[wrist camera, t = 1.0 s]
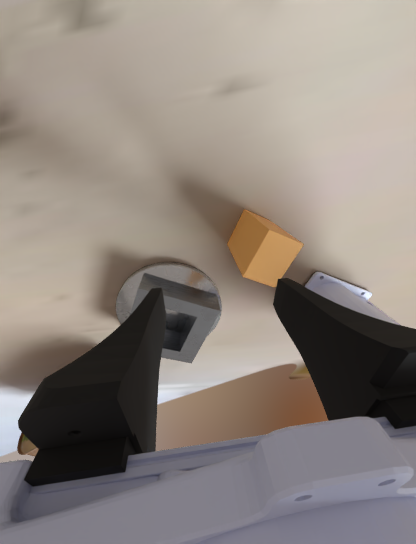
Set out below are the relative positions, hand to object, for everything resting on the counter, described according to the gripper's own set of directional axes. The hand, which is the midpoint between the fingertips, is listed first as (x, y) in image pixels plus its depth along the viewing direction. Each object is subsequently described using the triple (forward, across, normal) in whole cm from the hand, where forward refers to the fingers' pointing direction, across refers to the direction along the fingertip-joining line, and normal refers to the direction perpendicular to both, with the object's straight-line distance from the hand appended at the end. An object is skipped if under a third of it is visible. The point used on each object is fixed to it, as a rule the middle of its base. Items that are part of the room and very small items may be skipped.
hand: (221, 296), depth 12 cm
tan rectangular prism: (+10, -5, -1) cm, 11 cm away
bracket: (+10, +4, +8) cm, 14 cm away
